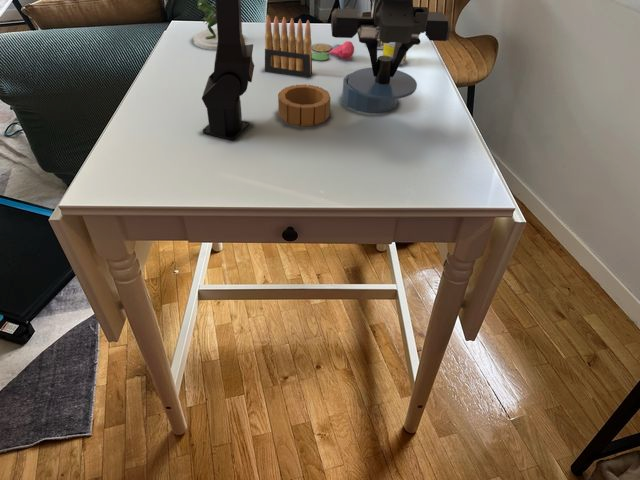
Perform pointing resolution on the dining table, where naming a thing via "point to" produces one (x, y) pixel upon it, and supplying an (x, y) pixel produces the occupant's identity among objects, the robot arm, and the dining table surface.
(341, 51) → the toy pieces
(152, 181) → the dining table surface
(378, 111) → the pot
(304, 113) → the brown grooved ring
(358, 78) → the pot lid
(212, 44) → the monster figurine
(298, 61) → the ammunition clip
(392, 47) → the supplement bottle
